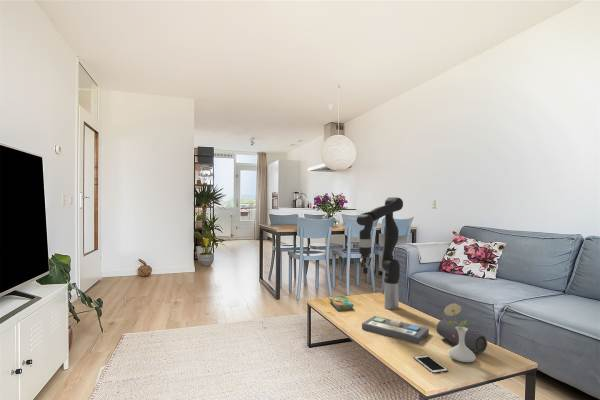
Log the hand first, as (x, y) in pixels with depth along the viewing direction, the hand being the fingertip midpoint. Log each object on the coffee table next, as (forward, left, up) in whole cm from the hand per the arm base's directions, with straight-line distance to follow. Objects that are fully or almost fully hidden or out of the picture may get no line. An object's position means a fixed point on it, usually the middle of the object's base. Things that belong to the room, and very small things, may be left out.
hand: (365, 273), depth 204 cm
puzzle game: (-9, -24, -28) cm, 37 cm away
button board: (+12, +24, -27) cm, 38 cm away
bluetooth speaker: (+10, +57, -27) cm, 64 cm away
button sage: (+10, +14, -27) cm, 32 cm away
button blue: (+10, +34, -27) cm, 44 cm away
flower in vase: (+24, +60, -27) cm, 70 cm away
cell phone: (+38, +51, -28) cm, 69 cm away
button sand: (+10, +24, -25) cm, 36 cm away
